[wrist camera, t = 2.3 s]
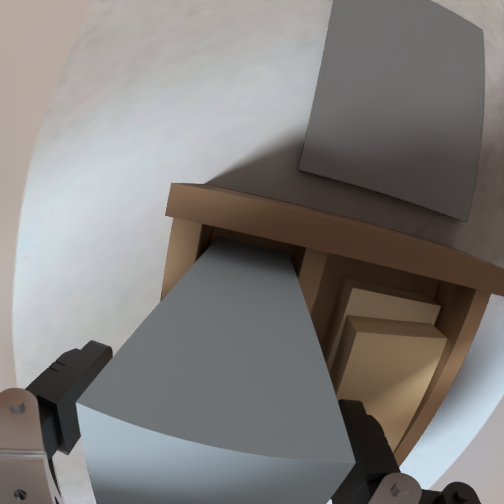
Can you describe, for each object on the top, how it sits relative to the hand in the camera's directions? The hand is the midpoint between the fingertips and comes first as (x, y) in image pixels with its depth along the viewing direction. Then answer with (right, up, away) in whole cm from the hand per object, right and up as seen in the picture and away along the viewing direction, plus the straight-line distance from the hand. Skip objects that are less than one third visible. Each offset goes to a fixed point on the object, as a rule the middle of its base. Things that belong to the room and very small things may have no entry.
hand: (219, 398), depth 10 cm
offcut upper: (+6, -1, +3) cm, 7 cm away
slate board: (0, +1, +5) cm, 5 cm away
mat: (+9, +13, +3) cm, 16 cm away
